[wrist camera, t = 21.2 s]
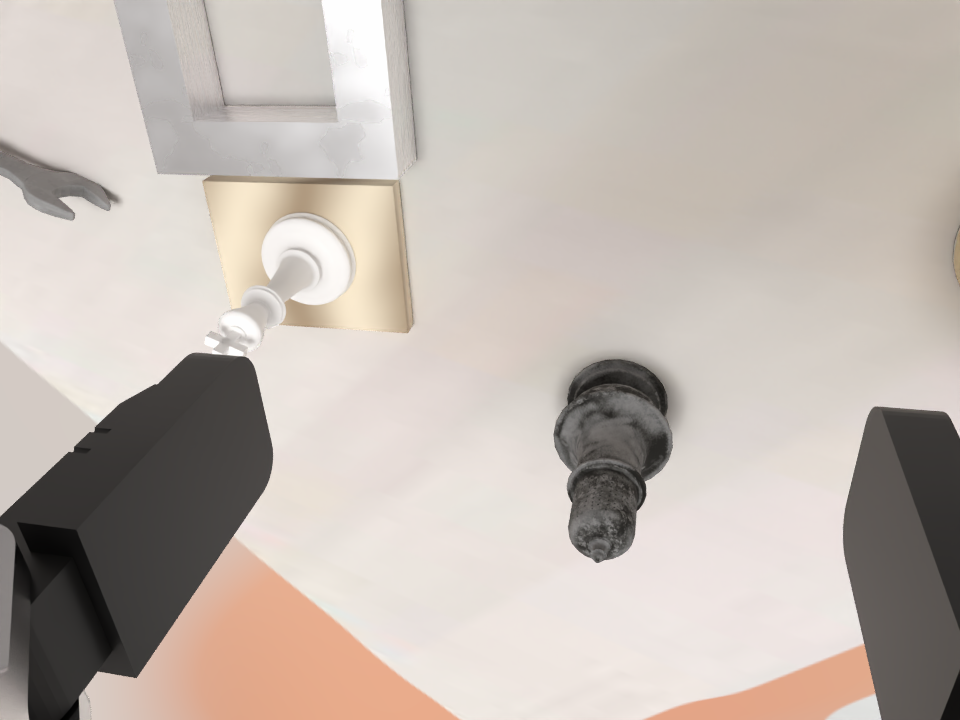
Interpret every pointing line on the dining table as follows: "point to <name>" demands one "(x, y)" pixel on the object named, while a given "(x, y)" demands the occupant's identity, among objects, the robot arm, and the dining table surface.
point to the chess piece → (288, 280)
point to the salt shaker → (611, 452)
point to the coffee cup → (957, 256)
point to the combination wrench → (50, 187)
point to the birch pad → (345, 203)
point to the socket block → (273, 129)
